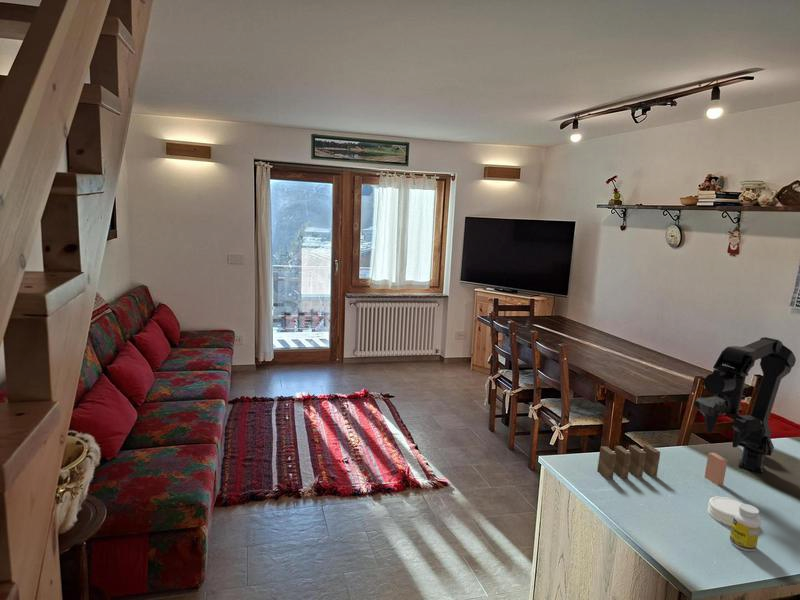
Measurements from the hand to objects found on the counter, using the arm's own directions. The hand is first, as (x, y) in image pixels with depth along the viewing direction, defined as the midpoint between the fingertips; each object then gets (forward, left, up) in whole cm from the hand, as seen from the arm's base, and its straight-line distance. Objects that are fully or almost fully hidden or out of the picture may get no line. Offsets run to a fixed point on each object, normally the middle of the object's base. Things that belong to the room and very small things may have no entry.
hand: (721, 440), depth 152 cm
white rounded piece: (+20, +6, -14) cm, 25 cm away
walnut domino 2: (+17, -23, -13) cm, 31 cm away
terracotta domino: (0, 0, -13) cm, 13 cm away
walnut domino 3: (+13, -20, -13) cm, 27 cm away
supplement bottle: (+32, +10, -14) cm, 36 cm away
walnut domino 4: (+9, -17, -13) cm, 23 cm away
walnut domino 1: (+20, -26, -13) cm, 36 cm away
